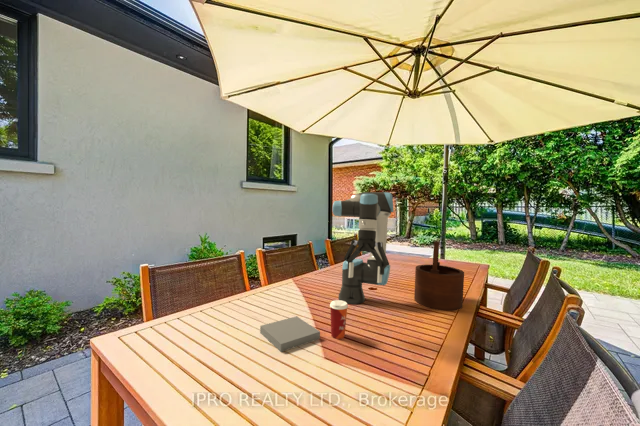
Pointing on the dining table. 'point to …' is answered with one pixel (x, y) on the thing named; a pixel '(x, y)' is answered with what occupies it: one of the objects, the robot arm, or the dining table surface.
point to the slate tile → (289, 333)
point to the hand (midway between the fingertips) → (364, 280)
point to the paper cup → (338, 318)
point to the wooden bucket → (439, 285)
